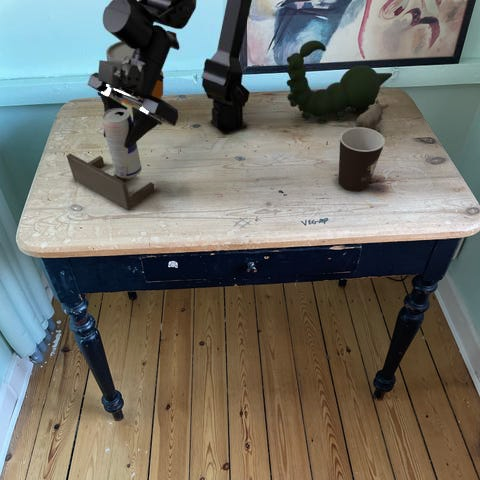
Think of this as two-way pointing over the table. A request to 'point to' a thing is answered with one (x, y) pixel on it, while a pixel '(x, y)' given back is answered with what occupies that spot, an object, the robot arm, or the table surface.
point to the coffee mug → (358, 157)
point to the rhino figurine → (371, 116)
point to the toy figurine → (332, 88)
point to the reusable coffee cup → (117, 55)
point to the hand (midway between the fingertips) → (116, 142)
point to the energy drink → (121, 143)
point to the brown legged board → (106, 182)
